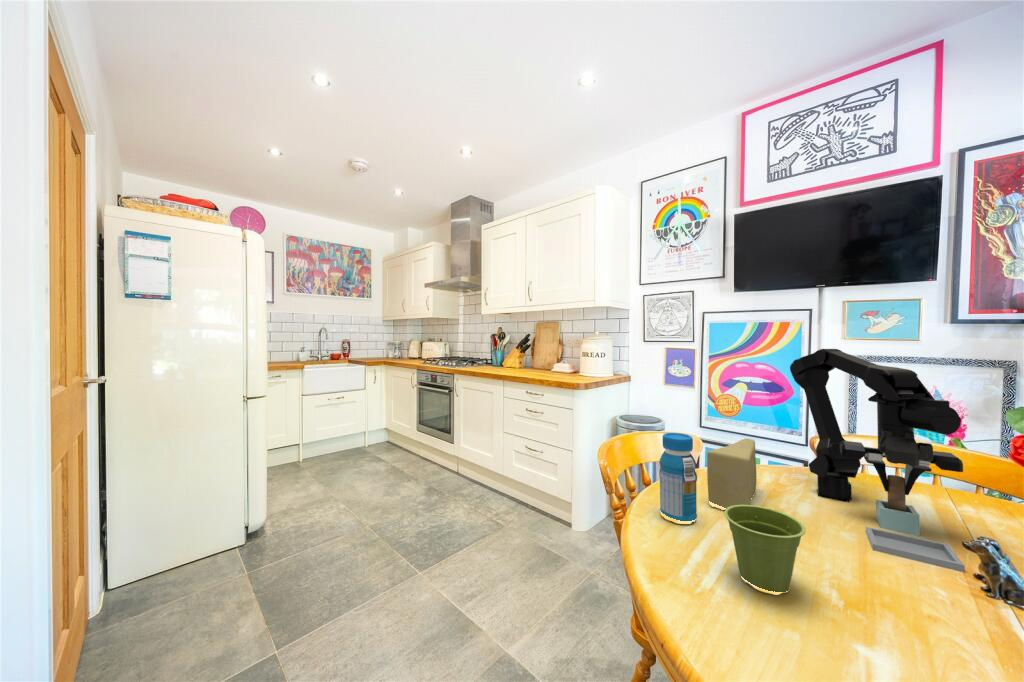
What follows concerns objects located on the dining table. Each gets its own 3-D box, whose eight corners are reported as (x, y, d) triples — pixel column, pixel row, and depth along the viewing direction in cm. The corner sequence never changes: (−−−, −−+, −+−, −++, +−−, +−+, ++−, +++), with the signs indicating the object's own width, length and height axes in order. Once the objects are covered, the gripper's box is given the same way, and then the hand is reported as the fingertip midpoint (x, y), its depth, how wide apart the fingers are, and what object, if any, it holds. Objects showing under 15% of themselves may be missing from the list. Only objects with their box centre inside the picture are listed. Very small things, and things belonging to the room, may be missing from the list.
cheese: (734, 484, 110) (733, 434, 110) (772, 494, 103) (772, 440, 103) (706, 506, 95) (705, 448, 95) (749, 519, 88) (748, 457, 88)
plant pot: (712, 562, 71) (711, 504, 71) (774, 563, 70) (774, 504, 70) (750, 606, 59) (749, 535, 59) (825, 607, 58) (824, 536, 58)
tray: (872, 552, 74) (872, 543, 74) (865, 534, 81) (865, 526, 81) (965, 575, 66) (964, 565, 66) (947, 553, 73) (947, 544, 73)
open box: (880, 530, 82) (880, 508, 82) (875, 520, 87) (875, 499, 87) (919, 538, 79) (919, 515, 79) (912, 527, 84) (912, 505, 84)
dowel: (889, 521, 83) (888, 477, 83) (886, 517, 85) (886, 474, 85) (907, 525, 81) (906, 480, 81) (904, 520, 83) (903, 476, 83)
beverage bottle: (659, 522, 87) (658, 438, 87) (659, 507, 94) (658, 430, 95) (699, 529, 83) (698, 441, 84) (695, 513, 91) (695, 433, 91)
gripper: (844, 425, 83) (845, 494, 82) (972, 437, 71) (974, 517, 71) (839, 417, 91) (840, 479, 91) (952, 427, 80) (954, 498, 80)
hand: (896, 492), depth 83 cm, fingers closed on dowel, 3 cm apart
